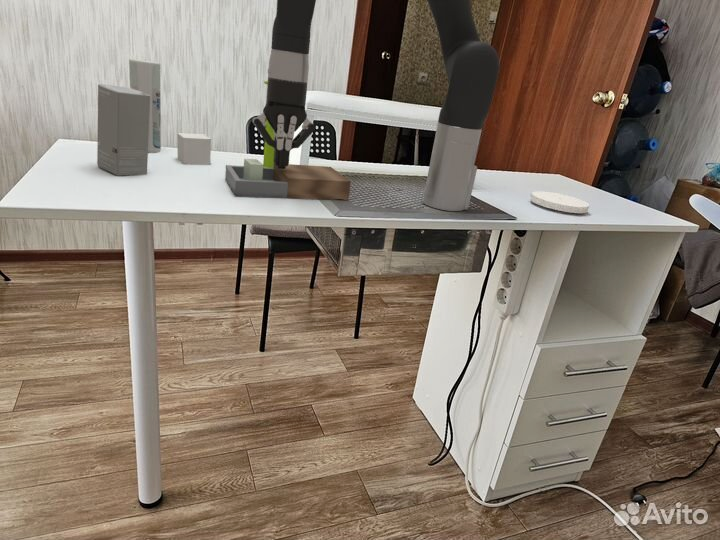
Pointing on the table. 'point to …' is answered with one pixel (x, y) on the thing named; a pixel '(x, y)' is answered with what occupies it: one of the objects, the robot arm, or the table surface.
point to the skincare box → (123, 130)
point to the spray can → (148, 82)
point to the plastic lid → (559, 202)
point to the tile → (252, 170)
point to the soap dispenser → (268, 149)
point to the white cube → (194, 149)
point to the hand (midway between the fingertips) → (280, 167)
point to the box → (255, 184)
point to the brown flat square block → (313, 182)
